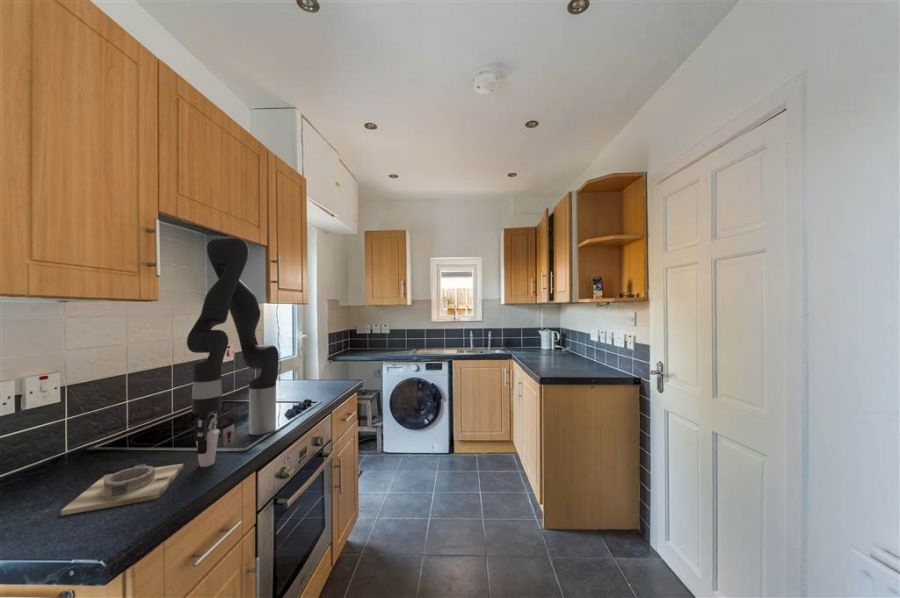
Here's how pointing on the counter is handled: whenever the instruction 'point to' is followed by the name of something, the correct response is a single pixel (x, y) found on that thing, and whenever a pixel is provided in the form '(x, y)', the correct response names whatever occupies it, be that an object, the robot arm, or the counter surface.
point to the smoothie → (209, 449)
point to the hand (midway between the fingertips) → (206, 448)
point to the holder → (125, 488)
